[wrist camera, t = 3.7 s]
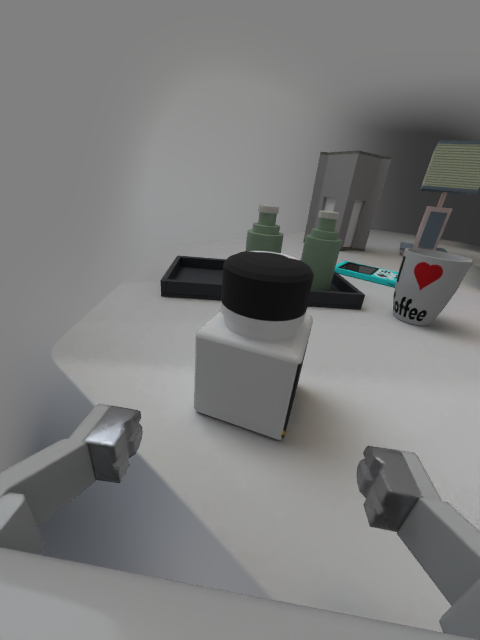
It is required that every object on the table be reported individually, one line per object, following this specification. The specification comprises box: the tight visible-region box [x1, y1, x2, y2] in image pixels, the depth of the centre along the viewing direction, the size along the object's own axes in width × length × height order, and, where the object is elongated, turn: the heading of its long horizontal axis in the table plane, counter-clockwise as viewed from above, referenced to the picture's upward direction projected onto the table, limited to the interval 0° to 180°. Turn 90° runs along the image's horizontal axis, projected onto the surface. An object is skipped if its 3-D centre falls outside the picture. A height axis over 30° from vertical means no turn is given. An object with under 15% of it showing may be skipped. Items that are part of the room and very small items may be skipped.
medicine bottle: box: [194, 251, 314, 440], centre depth 20 cm, size 7×7×12 cm
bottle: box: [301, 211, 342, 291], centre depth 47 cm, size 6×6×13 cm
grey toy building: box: [303, 151, 391, 251], centre depth 87 cm, size 21×10×28 cm, turn 73°
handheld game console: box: [334, 261, 398, 287], centre depth 63 cm, size 10×16×1 cm, turn 54°
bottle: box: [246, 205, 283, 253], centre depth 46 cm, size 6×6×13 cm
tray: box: [161, 256, 365, 309], centre depth 49 cm, size 32×16×2 cm, turn 93°
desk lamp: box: [400, 141, 480, 255], centre depth 89 cm, size 18×14×33 cm
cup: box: [393, 248, 473, 326], centre depth 40 cm, size 8×8×10 cm
